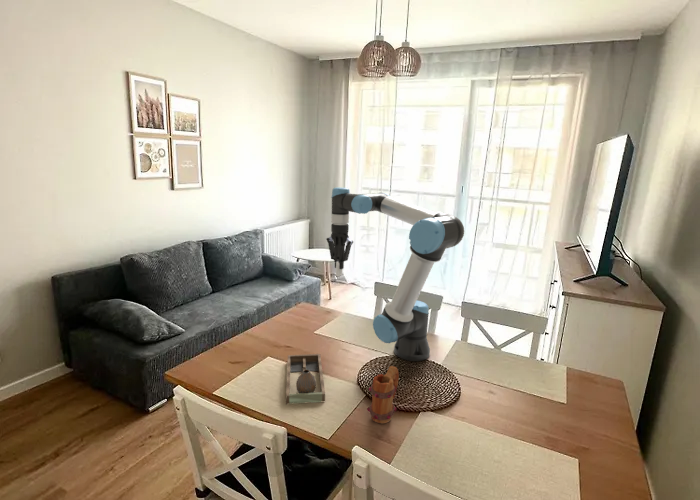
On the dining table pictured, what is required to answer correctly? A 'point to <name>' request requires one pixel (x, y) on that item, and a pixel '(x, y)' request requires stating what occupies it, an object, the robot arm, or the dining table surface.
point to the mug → (383, 395)
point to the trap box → (298, 365)
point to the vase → (306, 382)
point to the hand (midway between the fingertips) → (338, 275)
